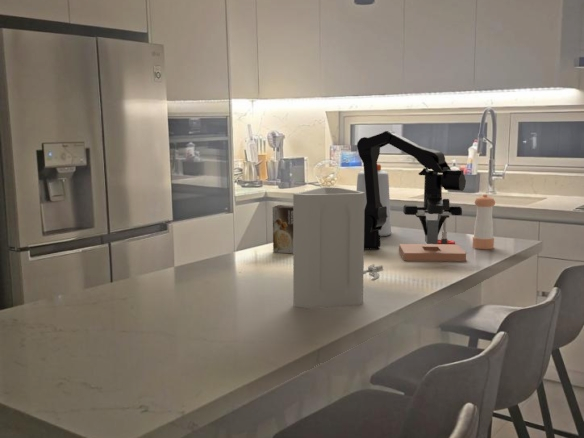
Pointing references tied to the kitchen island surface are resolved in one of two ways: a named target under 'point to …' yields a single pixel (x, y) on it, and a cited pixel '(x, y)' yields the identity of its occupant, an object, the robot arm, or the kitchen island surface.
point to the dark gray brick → (431, 231)
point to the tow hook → (445, 235)
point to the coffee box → (283, 229)
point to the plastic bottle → (384, 196)
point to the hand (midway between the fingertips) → (431, 235)
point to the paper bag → (328, 247)
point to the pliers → (374, 271)
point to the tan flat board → (431, 252)
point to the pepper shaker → (484, 223)
